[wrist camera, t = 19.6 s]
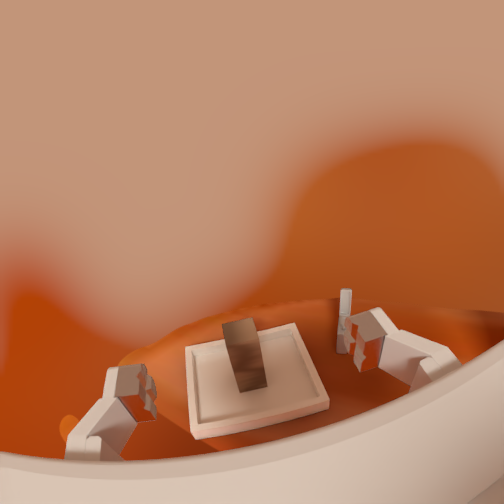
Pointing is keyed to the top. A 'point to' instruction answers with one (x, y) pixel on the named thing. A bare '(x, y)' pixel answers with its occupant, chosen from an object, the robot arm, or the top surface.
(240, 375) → the walnut block
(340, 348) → the lighter
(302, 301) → the top surface
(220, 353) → the tray
